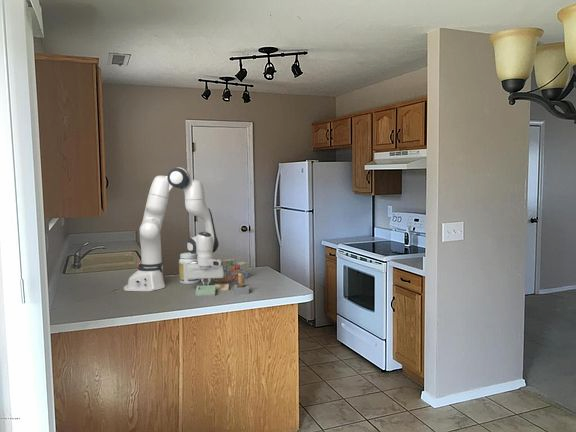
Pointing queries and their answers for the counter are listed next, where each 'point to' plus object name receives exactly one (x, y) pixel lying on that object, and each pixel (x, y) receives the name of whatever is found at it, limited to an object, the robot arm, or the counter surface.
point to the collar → (241, 289)
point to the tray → (206, 290)
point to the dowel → (240, 280)
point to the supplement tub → (183, 268)
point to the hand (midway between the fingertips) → (206, 286)
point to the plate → (222, 286)
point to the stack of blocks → (233, 270)
